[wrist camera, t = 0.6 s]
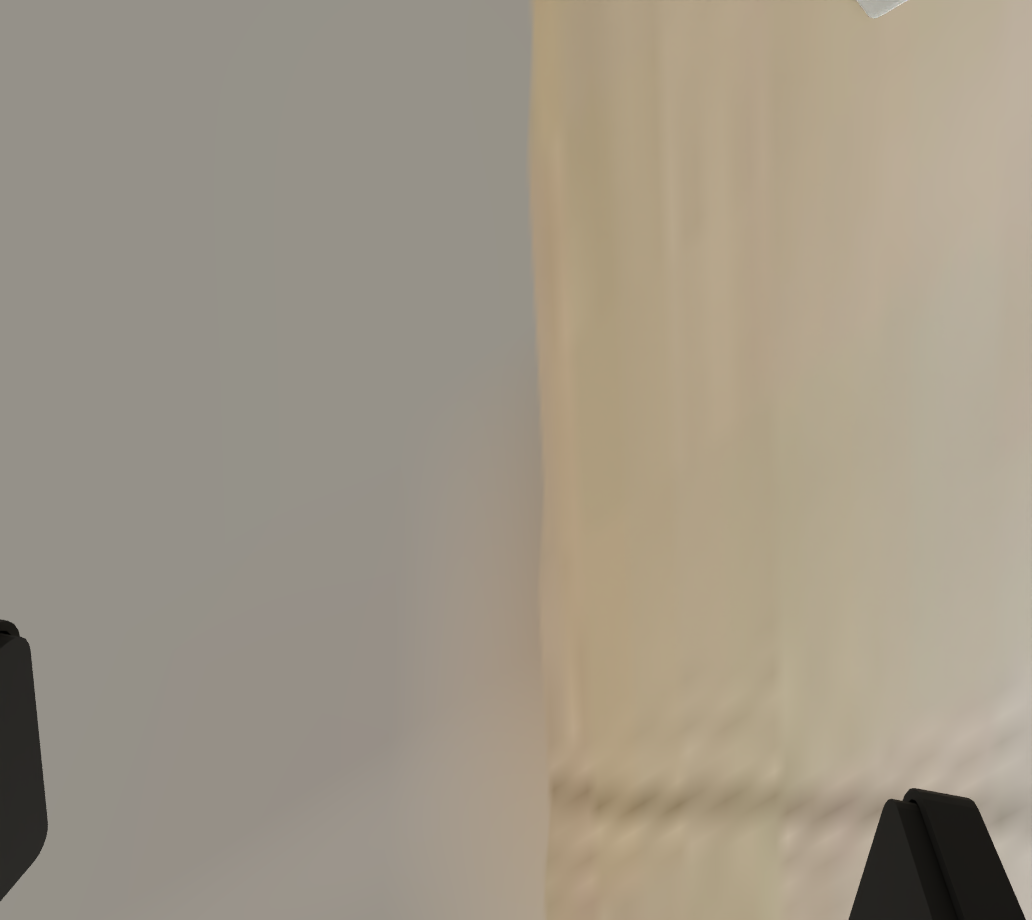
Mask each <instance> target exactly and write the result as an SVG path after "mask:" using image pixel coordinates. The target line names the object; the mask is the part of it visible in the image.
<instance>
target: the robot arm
mask: <svg viewBox="0 0 1032 920" xmlns="http://www.w3.org/2000/svg"><path fill="white" fill-rule="evenodd" d="M47 830H48V821H47V811H46V801H45V791H44V781H43V771H42V761H41V751H40V741H39V731H38V721H37V711H36V701H35V692H34V681H33V671H32V661H31V651H30V646H29V643H28V642H27V640H26V639H24V638H22V637H20V636H19V631H18V629H17V628H16V626H15V625H14V624H13V623H11V622H9V621H5V620H0V901H1V900H2V899H3V897H4V896H5V895H6V894H7V893H8V892H9V890H10V889H11V888H12V887H13V886H14V885H15V883H16V882H17V881H18V880H19V879H20V877H21V876H22V875H23V874H24V873H25V872H26V870H27V869H28V868H29V867H30V866H31V864H32V863H33V862H34V861H35V859H36V858H37V856H38V855H39V853H40V851H41V849H42V847H43V845H44V842H45V839H46V835H47ZM849 920H1026V919H1025V917H1024V914H1023V912H1022V910H1021V907H1020V905H1019V903H1018V900H1017V898H1016V896H1015V893H1014V891H1013V889H1012V886H1011V884H1010V882H1009V879H1008V877H1007V875H1006V872H1005V870H1004V868H1003V865H1002V863H1001V861H1000V858H999V856H998V854H997V851H996V849H995V847H994V844H993V842H992V840H991V837H990V835H989V833H988V830H987V828H986V826H985V823H984V821H983V819H982V816H981V814H980V812H979V809H978V808H977V806H976V804H975V803H974V801H972V800H971V799H969V798H965V797H960V796H954V795H949V794H943V793H938V792H933V791H927V790H922V789H916V788H912V789H909V791H908V792H907V793H906V794H905V796H904V799H903V801H900V800H894V799H889V800H888V801H887V802H886V803H885V805H884V808H883V810H882V814H881V817H880V820H879V823H878V826H877V830H876V833H875V836H874V839H873V843H872V846H871V849H870V852H869V856H868V859H867V862H866V865H865V868H864V872H863V875H862V878H861V881H860V885H859V888H858V891H857V894H856V897H855V901H854V904H853V907H852V910H851V914H850V917H849Z"/></svg>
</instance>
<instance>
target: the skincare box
mask: <svg viewBox="0 0 1032 920" xmlns="http://www.w3.org/2000/svg"><path fill="white" fill-rule="evenodd" d="M856 1H857V2H858V3H859V4H860V6H861V7H862V8H863V10H864V11H865V12H866V14H867V15H868V16H869V17H871V18H878V17H880V16H882V15H884V14H885V13H887V12H889V11H890V10H892V9H894V8H895V7H897V6H899V5H900V4H902V3H904V2H905V1H907V0H856Z"/></svg>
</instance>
